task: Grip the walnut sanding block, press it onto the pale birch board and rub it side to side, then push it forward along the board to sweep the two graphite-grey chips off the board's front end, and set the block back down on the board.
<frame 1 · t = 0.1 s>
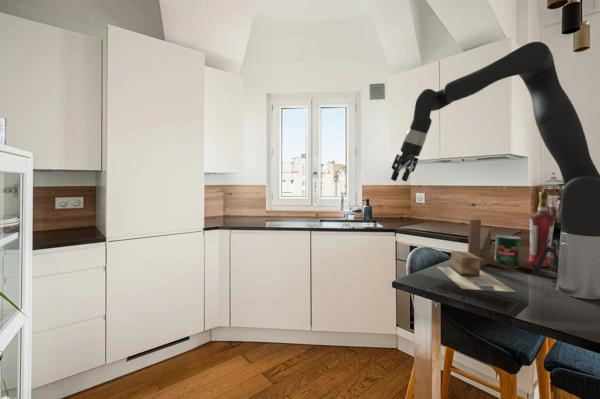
hand: (398, 180, 126), 31 cm above the table, tool tilted 20°, fingers open, 8 cm apart
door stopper: (549, 275, 104), on the table
grey chip 1: (478, 283, 90), point 1 cm above the table, touching birch board
liquor: (538, 266, 115), on the table
grey chip 2: (484, 287, 87), point 1 cm above the table, touching birch board
wooden block: (477, 268, 111), on the table
walnut sanding block: (464, 272, 101), point 1 cm above the table, touching birch board
birch board: (471, 281, 95), on the table
canned tomato: (506, 265, 116), on the table
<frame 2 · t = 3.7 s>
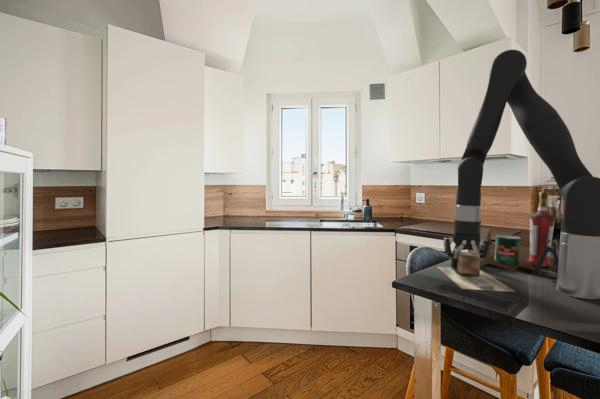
hand: (464, 269, 101), 2 cm above the table, tool pointing down, fingers closed on walnut sanding block, 5 cm apart
walnut sanding block: (464, 272, 101), point 1 cm above the table, touching birch board, gripper
everything else where it was.
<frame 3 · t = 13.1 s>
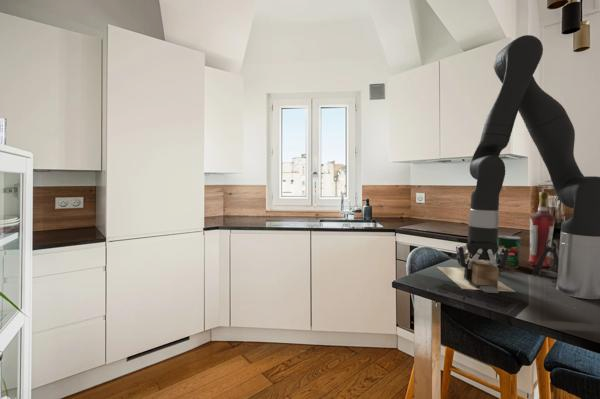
hand: (480, 281, 90), 2 cm above the table, tool pointing down, fingers closed on walnut sanding block, 5 cm apart
grey chip 1: (489, 290, 84), point 1 cm above the table, touching walnut sanding block
grey chip 2: (490, 299, 83), on the table
walnut sanding block: (479, 283, 90), point 1 cm above the table, touching grey chip 1, gripper
everything else where it was.
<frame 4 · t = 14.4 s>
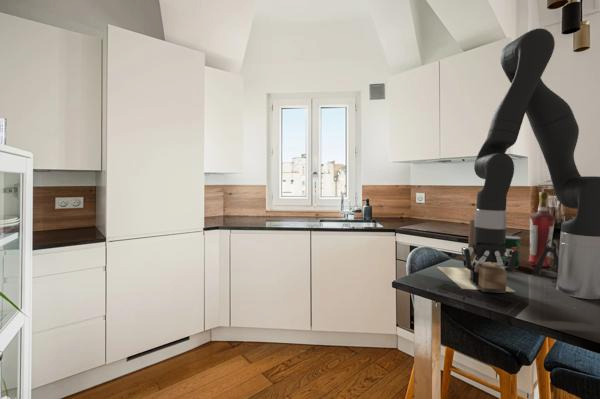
hand: (486, 284, 86), 2 cm above the table, tool pointing down, fingers closed on walnut sanding block, 5 cm apart
grey chip 1: (491, 297, 83), on the table, touching grey chip 2
grey chip 2: (491, 299, 83), on the table, touching grey chip 1
walnut sanding block: (486, 286, 86), point 2 cm above the table, touching gripper
everything else where it was.
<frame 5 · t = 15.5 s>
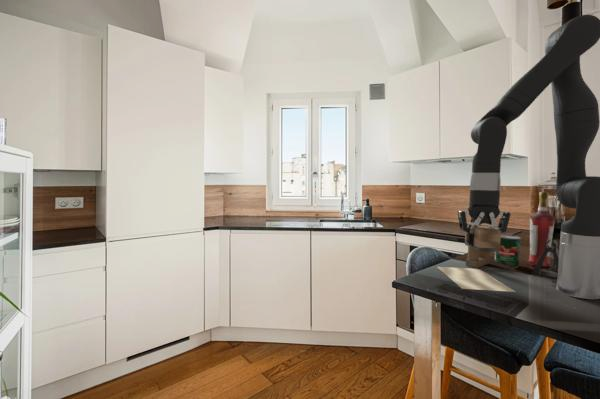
hand: (481, 246, 89), 12 cm above the table, tool pointing down, fingers closed on walnut sanding block, 5 cm apart
grey chip 1: (491, 296, 83), on the table, touching grey chip 2
walnut sanding block: (481, 248, 89), point 12 cm above the table, touching gripper
everything else where it was.
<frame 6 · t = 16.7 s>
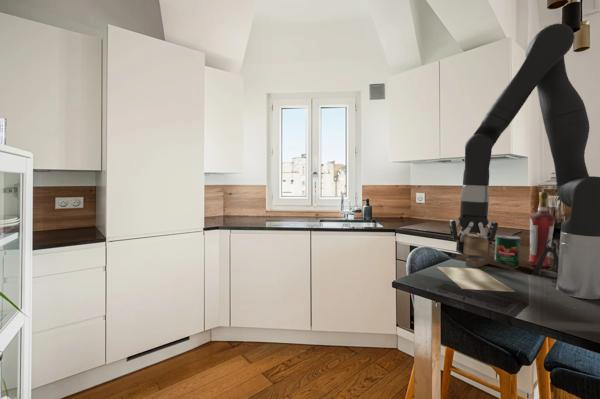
hand: (471, 253, 96), 9 cm above the table, tool pointing down, fingers closed on walnut sanding block, 5 cm apart
walnut sanding block: (470, 255, 96), point 8 cm above the table, touching gripper
everything else where it was.
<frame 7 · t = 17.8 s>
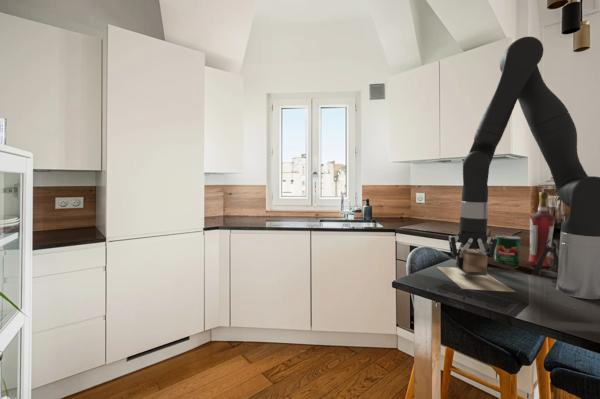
hand: (470, 269, 96), 4 cm above the table, tool pointing down, fingers closed on walnut sanding block, 5 cm apart
grey chip 1: (491, 297, 83), on the table, touching grey chip 2
walnut sanding block: (470, 270, 96), point 3 cm above the table, touching gripper
everything else where it was.
when the fingers open (4 cm above the table, at t = 18.0 s): walnut sanding block drops 2 cm, resting on birch board.
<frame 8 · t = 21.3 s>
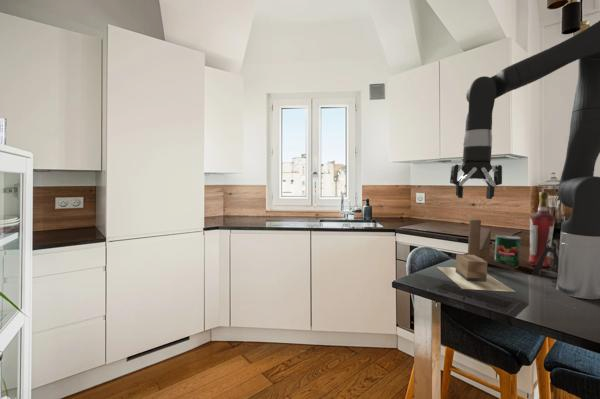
hand: (474, 198, 95), 26 cm above the table, tool pointing down, fingers open, 8 cm apart
walnut sanding block: (470, 276, 96), point 1 cm above the table, touching birch board
everything else where it was.
at the end: grey chip 1 on the table; grey chip 2 on the table; walnut sanding block inside the target area on the birch board (0.5 cm from its centre), point 1.2 cm above the birch board's base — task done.
